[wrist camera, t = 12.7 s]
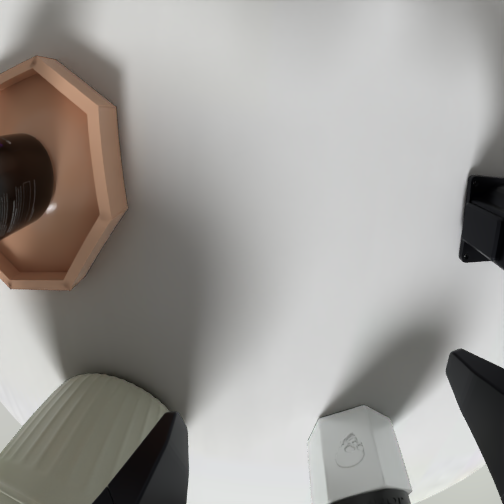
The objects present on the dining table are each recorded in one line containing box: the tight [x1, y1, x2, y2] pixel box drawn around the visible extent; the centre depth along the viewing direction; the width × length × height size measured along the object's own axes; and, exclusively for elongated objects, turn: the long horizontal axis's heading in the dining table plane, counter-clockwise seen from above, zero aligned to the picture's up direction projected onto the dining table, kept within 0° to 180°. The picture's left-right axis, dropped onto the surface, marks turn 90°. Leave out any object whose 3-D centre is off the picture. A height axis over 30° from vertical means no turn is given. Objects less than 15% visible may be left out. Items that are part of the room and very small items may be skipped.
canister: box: [0, 373, 170, 504], centre depth 18 cm, size 18×18×21 cm
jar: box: [307, 405, 412, 504], centre depth 22 cm, size 9×8×12 cm
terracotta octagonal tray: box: [0, 56, 128, 291], centre depth 18 cm, size 17×17×2 cm
